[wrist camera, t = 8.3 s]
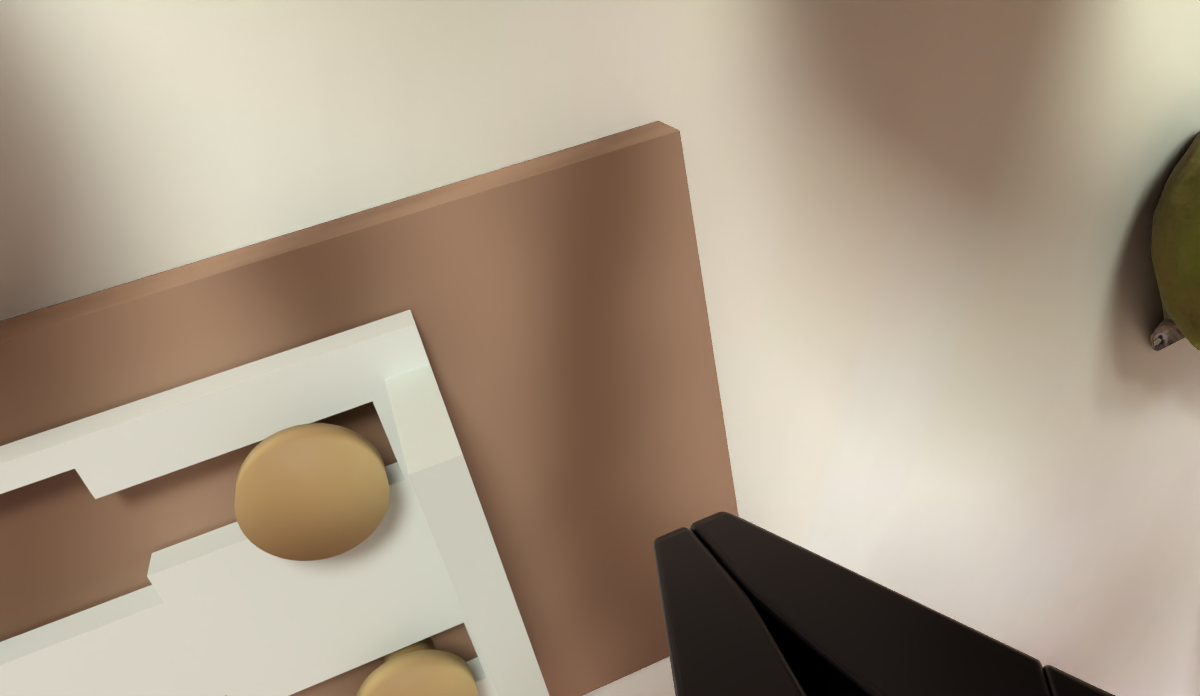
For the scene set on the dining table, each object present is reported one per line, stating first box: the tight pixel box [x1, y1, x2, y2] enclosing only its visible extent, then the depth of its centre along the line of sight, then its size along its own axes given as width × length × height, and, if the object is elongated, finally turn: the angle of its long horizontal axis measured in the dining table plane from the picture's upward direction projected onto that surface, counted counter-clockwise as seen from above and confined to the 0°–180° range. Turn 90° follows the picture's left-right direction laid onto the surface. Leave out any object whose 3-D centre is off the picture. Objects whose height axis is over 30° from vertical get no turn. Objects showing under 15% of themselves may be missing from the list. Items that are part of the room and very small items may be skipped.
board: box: [0, 121, 738, 696], centre depth 20 cm, size 19×16×3 cm
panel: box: [0, 310, 549, 696], centre depth 18 cm, size 12×12×4 cm
